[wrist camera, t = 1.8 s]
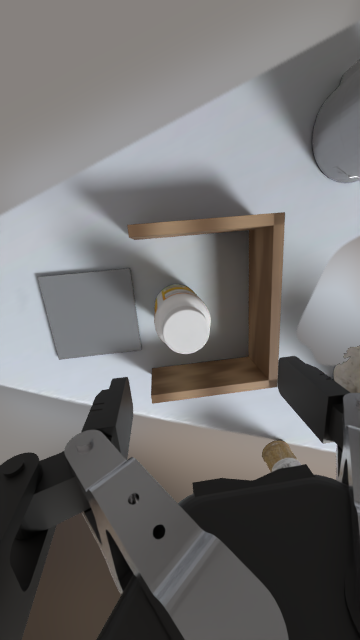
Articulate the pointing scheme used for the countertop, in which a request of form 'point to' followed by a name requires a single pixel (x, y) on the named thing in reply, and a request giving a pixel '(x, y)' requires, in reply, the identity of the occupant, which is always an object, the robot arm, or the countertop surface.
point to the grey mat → (91, 312)
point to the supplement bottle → (181, 319)
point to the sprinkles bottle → (279, 456)
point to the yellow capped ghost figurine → (349, 371)
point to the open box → (262, 311)
